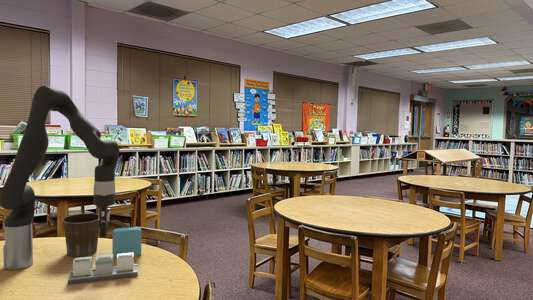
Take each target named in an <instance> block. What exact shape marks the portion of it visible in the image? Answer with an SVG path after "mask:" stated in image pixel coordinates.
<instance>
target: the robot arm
mask: <svg viewBox="0 0 533 300" xmlns="http://www.w3.org/2000/svg"><path fill="white" fill-rule="evenodd" d="M50 111H51V112H57V113H59V114H61V115H62V116H64V117H65V118H66V119H67V120H68V122H69V126H70V129H71V130H72V132H73V134H75V135H76V136H77V137H78V138H79V139H80V140H81V142H83V144H84V145H85V147H86V149H87V151H88V153H89V154H90V156H92V157H93V158H95V159H99V160H101V159H102V160H101V163H99V164H97V165H96V166H95V167H94V181H93V182H94V183H93V201H92V202H93V205H94V206H97V207H100V208H98V210H97V213H98V215H99V219H98V220H99V237H100V239H103V238H106V237H107V234H108V233H107V231H108V230H109V219H110V215H111V214H110V213H111V207H110V206H113V205H115V203H116V182H115V180H116V179H115V177H116V174H115V173H116V167H117V164H118V160H119V157H120V146H119V144H118V142H117V141H116V140H113V139H101V137H102V132H101V131H100V130H99V129H98V128H97V127H96V126H95V125H94V124H93V123H92V122H91V121H90V120H89V119H88V118H87V117H86V116H85V115H84V114H83V113H82V111H81V110H80V109H79V107H78V106H77V105H76V104H75V102H74V101H73V100H72V98H71V96H70V95H69V94H68V93H67V92H66V91H65V90H63V89H61V88H59V87H58V88H57V87H54V86H49V85H42V86H39V87H38V88H37V89H36V91H35V92H34V93H33V98H32V102H31V106H30V111H29V115H28V120H27V122H26V125H25V126H26V127H25V129H24V132H23V134H22V137H21V140H20V143H19V144H18V145H19V146H18V149H17V152H16V155H15V158H14V161H13V164H12V165H11V169H10V172H9V174H8V175H7V178H6V180H5V183H4V184H3V186H2V188H1V189H0V190H1V191H0V206H1V208H3V209H4V210H7V211H10V213H9V214H8V216H6V217H5V219H4V245H3V248H2V249H3V253H2V254H3V255H2V257H3V258H2V259H3V270H10V271H13V270H15V271H16V270H22V269H26V268H29V267H31V266H32V265H33V264H34V251H33V250H34V249H33V248H34V244H33V240H34V239H33V238H34V237H33V218H34V216H35V210H36V209H35V208H36V196H35V195H36V194H35V191H34V190H35V189H34V188H32V186H31V185H29V184H28V181H29V180H30V177H31V176H32V175H33V174H34V172H35V171H36V170H37V169H38V167H39V166H40V165H41V164H42V162H43V161H44V159H45V156H46V154H47V151H48V147H49V144H50V142H49V136H48V132H47V127H46V121H47V118H48V114H49V112H50ZM109 207H110V208H109Z"/></svg>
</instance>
